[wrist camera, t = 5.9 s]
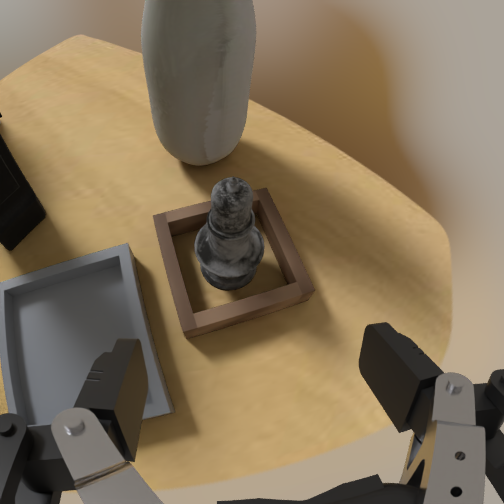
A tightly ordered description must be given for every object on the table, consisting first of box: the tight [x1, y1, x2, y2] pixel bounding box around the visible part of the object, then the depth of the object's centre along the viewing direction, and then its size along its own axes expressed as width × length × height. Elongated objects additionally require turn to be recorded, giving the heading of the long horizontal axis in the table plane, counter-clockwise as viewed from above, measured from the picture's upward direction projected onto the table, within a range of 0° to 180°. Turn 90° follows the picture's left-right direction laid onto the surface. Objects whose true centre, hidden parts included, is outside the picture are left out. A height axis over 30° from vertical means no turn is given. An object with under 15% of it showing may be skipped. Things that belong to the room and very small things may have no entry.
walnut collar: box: [153, 188, 315, 339], centre depth 29 cm, size 11×11×2 cm
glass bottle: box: [141, 0, 256, 166], centre depth 24 cm, size 10×10×28 cm
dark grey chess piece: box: [194, 177, 264, 290], centre depth 25 cm, size 6×6×12 cm
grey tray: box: [0, 243, 175, 427], centre depth 23 cm, size 15×15×2 cm
